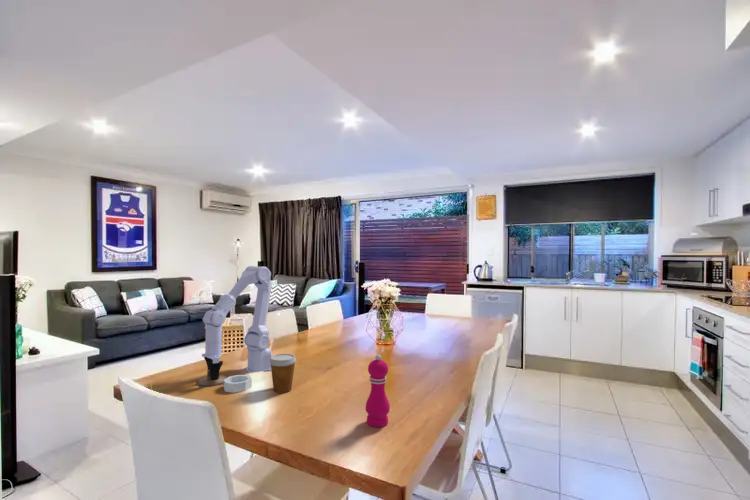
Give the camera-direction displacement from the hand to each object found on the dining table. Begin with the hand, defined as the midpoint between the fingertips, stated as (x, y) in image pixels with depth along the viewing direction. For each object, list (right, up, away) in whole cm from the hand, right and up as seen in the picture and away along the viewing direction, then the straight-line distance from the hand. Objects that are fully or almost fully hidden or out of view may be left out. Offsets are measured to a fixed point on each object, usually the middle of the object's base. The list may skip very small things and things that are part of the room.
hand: (213, 377), depth 140 cm
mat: (0, -2, 0) cm, 2 cm away
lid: (0, -2, 0) cm, 2 cm away
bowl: (+12, -2, -6) cm, 13 cm away
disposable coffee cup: (+28, -3, -7) cm, 29 cm away
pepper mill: (+63, -3, -32) cm, 70 cm away
